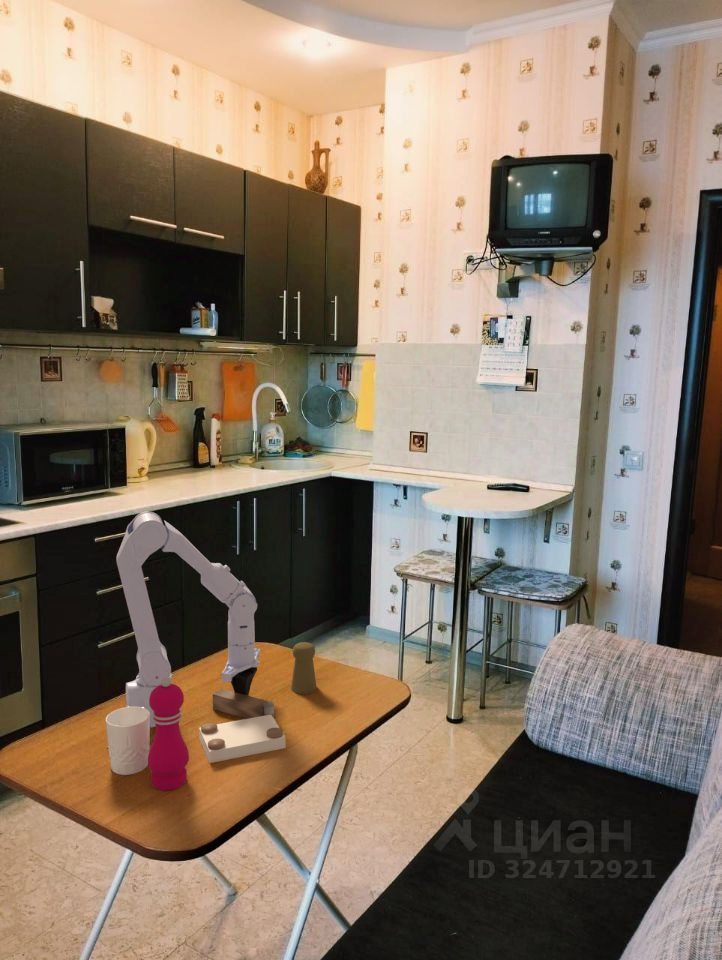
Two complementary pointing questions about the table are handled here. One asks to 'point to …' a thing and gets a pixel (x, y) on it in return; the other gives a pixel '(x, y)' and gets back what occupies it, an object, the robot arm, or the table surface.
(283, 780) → the table surface
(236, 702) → the folding leg
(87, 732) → the table surface
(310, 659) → the cork
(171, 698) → the pepper mill
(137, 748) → the white cup
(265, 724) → the stool seat
